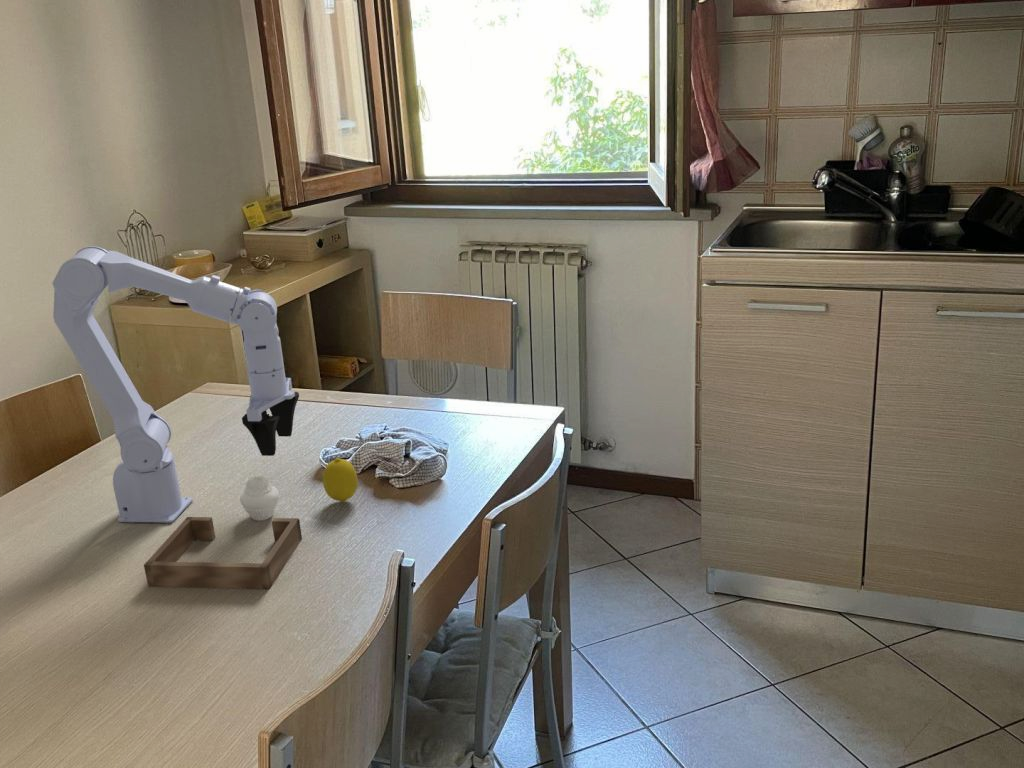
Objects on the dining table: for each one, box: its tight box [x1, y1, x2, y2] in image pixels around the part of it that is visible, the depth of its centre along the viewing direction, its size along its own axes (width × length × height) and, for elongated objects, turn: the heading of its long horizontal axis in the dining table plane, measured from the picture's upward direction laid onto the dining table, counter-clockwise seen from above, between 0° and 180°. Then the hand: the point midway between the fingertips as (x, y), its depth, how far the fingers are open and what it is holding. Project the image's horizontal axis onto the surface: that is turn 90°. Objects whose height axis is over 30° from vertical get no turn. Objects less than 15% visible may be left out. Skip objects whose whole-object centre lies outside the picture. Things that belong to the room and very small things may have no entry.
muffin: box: [239, 476, 280, 522], centre depth 150 cm, size 6×6×7 cm
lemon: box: [322, 457, 358, 504], centre depth 153 cm, size 6×6×8 cm
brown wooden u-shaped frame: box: [143, 516, 303, 590], centre depth 138 cm, size 18×14×4 cm
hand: (276, 445), depth 154 cm, fingers open, 7 cm apart
